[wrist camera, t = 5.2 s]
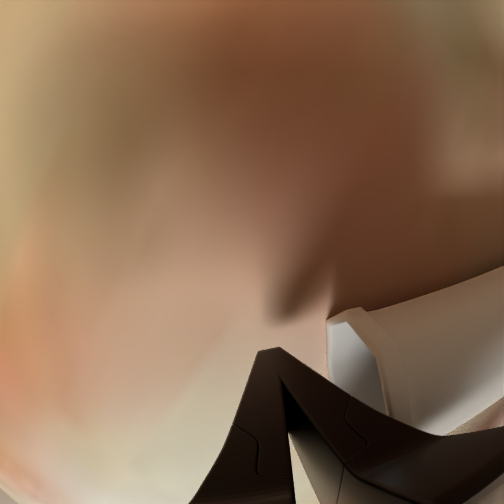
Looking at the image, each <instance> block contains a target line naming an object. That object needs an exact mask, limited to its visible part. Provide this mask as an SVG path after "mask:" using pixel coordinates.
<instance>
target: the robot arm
mask: <svg viewBox="0 0 504 504" xmlns="http://www.w3.org/2000/svg"><path fill="white" fill-rule="evenodd" d="M232 424H233V425H232V426H231V428H230V431H229V434H228V436H227V439H226V441H225V443H224V446H223V448H222V450H221V452H220V454H219V455H218V457H217V459H216V461H215V463H214V465H213V466H212V468H211V470H210V471H209V473H208V475H207V476H206V478H205V480H204V481H203V483H202V484H201V486H200V488H199V489H198V491H197V493H196V494H195V496H194V497H193V499H192V500H191V501H190V502H189V504H296V500H295V491H294V482H293V473H292V464H291V455H290V446H289V438H288V433H289V435H290V438H291V440H292V442H293V445H294V447H295V449H296V451H297V454H298V456H299V458H300V460H301V463H302V465H303V467H304V469H305V472H306V474H307V476H308V478H309V480H310V483H311V485H312V487H313V489H314V491H315V494H316V496H317V498H318V500H319V502H320V504H504V426H501V427H497V428H492V429H487V430H482V431H476V432H471V433H464V434H458V435H450V436H441V435H434V434H430V433H427V432H425V431H422V430H420V429H417V428H415V427H412V426H410V425H408V424H405V423H403V422H401V421H398V420H396V419H394V418H392V417H389V416H387V415H385V414H383V413H381V412H379V411H377V410H375V409H373V408H372V407H370V406H368V405H366V404H365V403H363V402H361V401H360V400H358V399H357V398H355V397H354V396H351V395H350V394H349V393H347V392H346V391H344V390H343V389H341V388H339V387H338V386H336V385H335V384H333V383H332V382H330V381H329V380H327V379H326V378H324V377H323V376H321V375H320V374H318V373H317V372H315V371H314V370H313V369H311V368H310V367H308V366H307V365H305V364H304V363H302V362H301V361H299V360H298V359H297V358H295V357H294V356H292V355H291V354H289V353H288V352H287V351H285V350H284V349H282V348H281V347H276V348H271V349H266V350H261V351H258V352H257V355H256V358H255V361H254V364H253V367H252V370H251V373H250V375H249V378H248V381H247V384H246V387H245V390H244V393H243V395H242V398H241V401H240V404H239V407H238V409H237V412H236V415H235V418H234V420H233V423H232Z"/></svg>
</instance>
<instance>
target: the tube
mask: <svg viewBox="0 0 504 504" xmlns="http://www.w3.org/2000/svg"><path fill="white" fill-rule="evenodd" d="M326 354H327V370H328V375H329V380H330V382H332V383H333V384H335V385H336V386H338V387H339V388H341V389H343V390H344V391H346V392H347V393H349V394H350V395H351V396H354V397H355V398H357V399H358V400H360V401H361V402H363V403H365V404H366V405H368V406H370V407H372V408H373V409H375V410H377V411H379V412H381V413H383V414H385V415H387V416H389V417H392V418H394V419H396V420H398V421H401V422H403V423H405V424H408V425H410V426H412V427H415V428H417V429H420V430H422V431H425V432H427V433H430V434H434V435H441V436H444V435H446V434H447V433H449V432H451V431H453V430H454V429H456V428H458V427H459V426H461V425H462V424H464V423H466V422H467V421H469V420H470V419H472V418H473V417H475V416H476V415H478V414H479V413H481V412H482V411H484V410H485V409H487V408H488V407H490V406H491V405H492V404H494V403H495V402H496V401H498V400H499V399H501V398H502V397H503V396H504V266H502V267H499V268H497V269H494V270H492V271H489V272H487V273H484V274H482V275H479V276H477V277H474V278H471V279H469V280H466V281H463V282H461V283H458V284H455V285H452V286H450V287H447V288H444V289H441V290H438V291H435V292H432V293H429V294H426V295H423V296H420V297H417V298H414V299H411V300H408V301H405V302H402V303H398V304H395V305H392V306H388V307H385V308H382V309H378V310H374V311H368V312H366V311H365V310H364V309H363V308H362V307H357V308H352V309H348V310H345V311H343V312H341V313H339V314H337V315H335V316H333V317H331V318H329V319H327V320H326Z"/></svg>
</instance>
